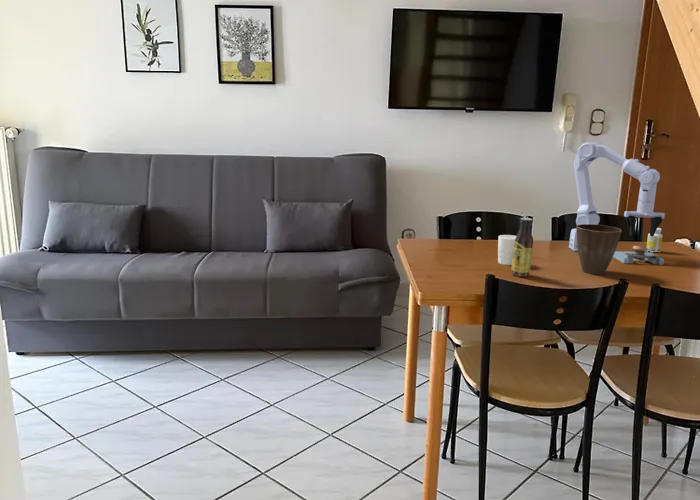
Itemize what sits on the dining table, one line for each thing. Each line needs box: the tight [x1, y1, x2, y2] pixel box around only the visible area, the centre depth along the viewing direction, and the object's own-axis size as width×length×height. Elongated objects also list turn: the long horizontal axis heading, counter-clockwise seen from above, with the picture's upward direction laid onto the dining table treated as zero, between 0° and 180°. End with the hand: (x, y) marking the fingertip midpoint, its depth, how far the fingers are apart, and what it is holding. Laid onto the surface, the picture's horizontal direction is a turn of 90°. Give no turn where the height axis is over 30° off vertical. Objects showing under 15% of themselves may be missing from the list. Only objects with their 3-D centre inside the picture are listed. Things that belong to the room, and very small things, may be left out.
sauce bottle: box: [511, 217, 534, 278], centre depth 208 cm, size 6×6×20 cm
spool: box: [632, 245, 648, 264], centre depth 236 cm, size 5×5×5 cm
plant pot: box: [575, 224, 623, 275], centre depth 216 cm, size 15×15×16 cm
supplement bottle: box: [646, 227, 663, 253], centre depth 254 cm, size 5×5×10 cm
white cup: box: [497, 234, 517, 266], centre depth 226 cm, size 8×8×10 cm
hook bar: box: [627, 254, 661, 266], centre depth 232 cm, size 12×2×3 cm, turn 88°
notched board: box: [612, 250, 665, 266], centre depth 238 cm, size 15×13×2 cm
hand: (641, 235), depth 237 cm, fingers open, 7 cm apart
